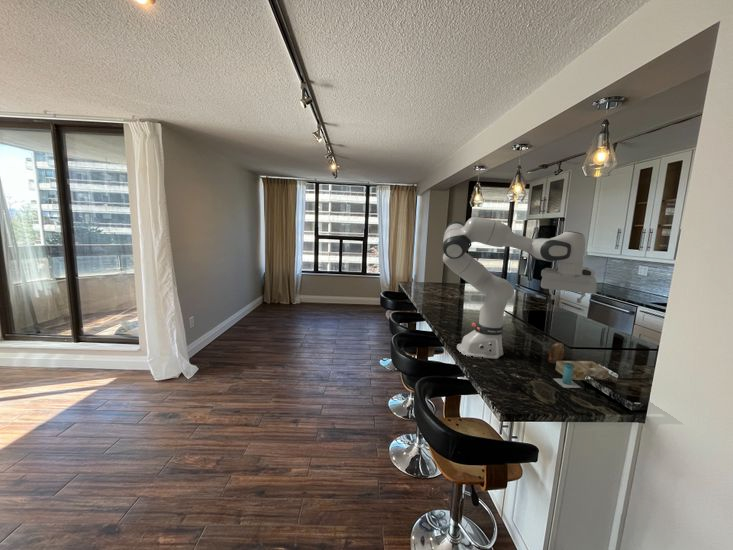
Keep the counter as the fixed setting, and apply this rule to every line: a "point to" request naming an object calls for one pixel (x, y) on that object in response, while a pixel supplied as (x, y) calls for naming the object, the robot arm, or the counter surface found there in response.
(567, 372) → the plug
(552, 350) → the brown rounded slab
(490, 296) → the robot arm
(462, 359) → the counter surface
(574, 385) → the deck
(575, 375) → the socket block
